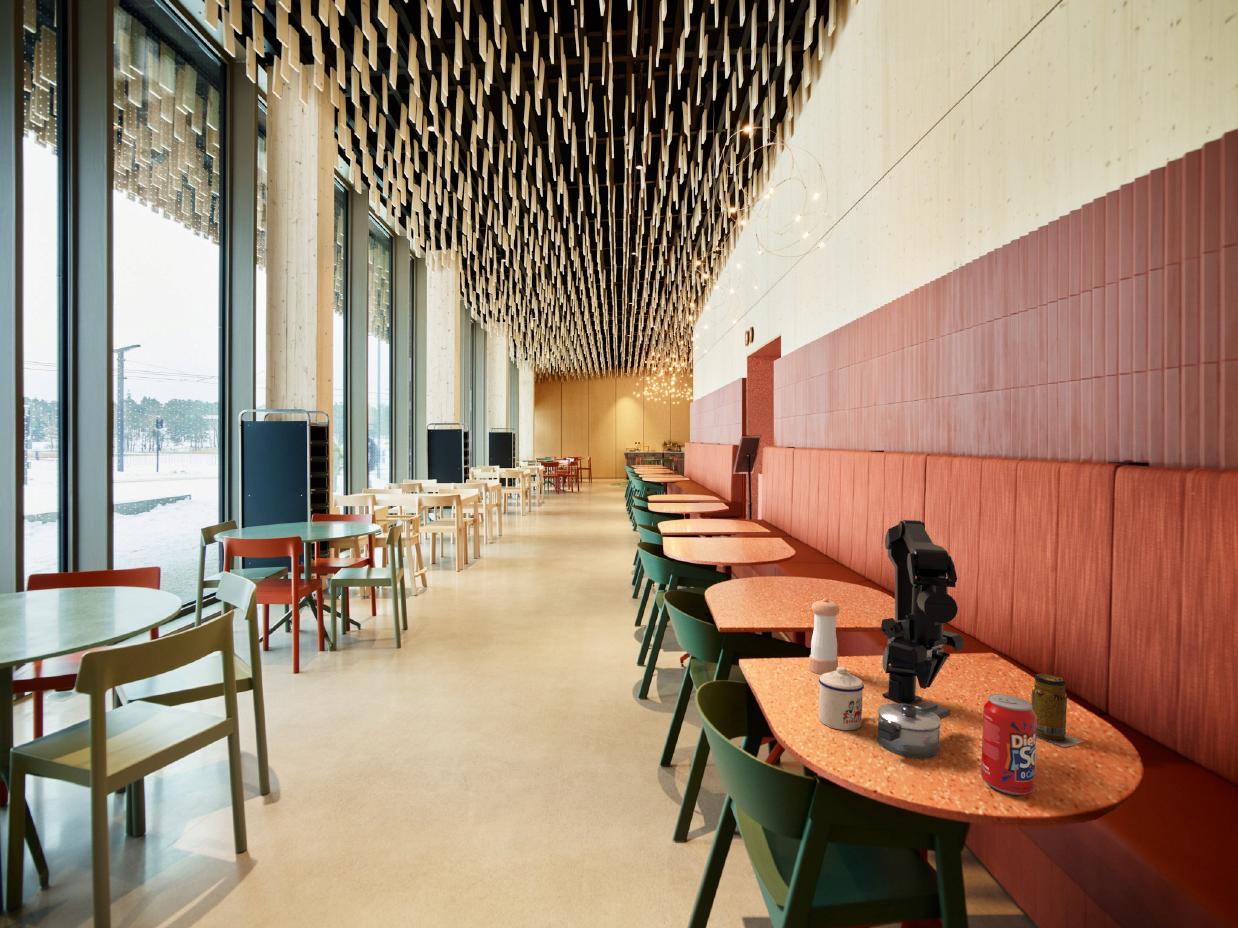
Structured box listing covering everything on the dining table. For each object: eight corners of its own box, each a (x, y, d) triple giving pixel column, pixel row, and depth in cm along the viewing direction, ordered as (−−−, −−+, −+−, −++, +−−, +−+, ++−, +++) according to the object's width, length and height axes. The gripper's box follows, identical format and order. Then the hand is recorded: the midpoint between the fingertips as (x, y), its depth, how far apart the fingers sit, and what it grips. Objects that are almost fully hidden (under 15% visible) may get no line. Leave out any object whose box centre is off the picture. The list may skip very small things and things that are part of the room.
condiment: (1040, 725, 134) (1042, 669, 134) (1084, 742, 127) (1086, 683, 126) (1019, 730, 131) (1022, 674, 131) (1063, 748, 124) (1065, 688, 123)
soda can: (977, 770, 113) (980, 689, 113) (1028, 780, 110) (1031, 696, 110) (984, 792, 106) (987, 704, 106) (1038, 803, 103) (1042, 713, 103)
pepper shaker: (811, 663, 170) (813, 594, 170) (839, 668, 167) (841, 597, 166) (806, 671, 163) (809, 599, 163) (835, 677, 160) (838, 602, 160)
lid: (906, 699, 133) (906, 689, 132) (960, 718, 123) (960, 707, 123) (863, 716, 124) (864, 705, 124) (918, 738, 115) (918, 726, 114)
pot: (917, 719, 135) (918, 692, 135) (970, 739, 126) (971, 710, 126) (857, 744, 123) (858, 715, 122) (911, 768, 114) (912, 736, 113)
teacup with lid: (849, 735, 126) (851, 678, 126) (809, 720, 133) (811, 666, 133) (876, 719, 135) (878, 666, 134) (837, 706, 141) (838, 655, 141)
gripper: (914, 597, 138) (911, 667, 138) (864, 607, 127) (861, 683, 127) (966, 608, 129) (963, 683, 129) (917, 620, 118) (914, 702, 118)
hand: (924, 687), depth 126 cm, fingers closed
